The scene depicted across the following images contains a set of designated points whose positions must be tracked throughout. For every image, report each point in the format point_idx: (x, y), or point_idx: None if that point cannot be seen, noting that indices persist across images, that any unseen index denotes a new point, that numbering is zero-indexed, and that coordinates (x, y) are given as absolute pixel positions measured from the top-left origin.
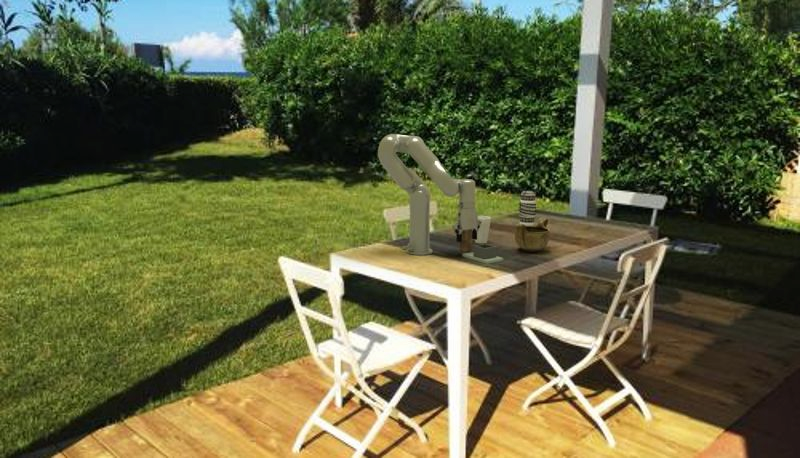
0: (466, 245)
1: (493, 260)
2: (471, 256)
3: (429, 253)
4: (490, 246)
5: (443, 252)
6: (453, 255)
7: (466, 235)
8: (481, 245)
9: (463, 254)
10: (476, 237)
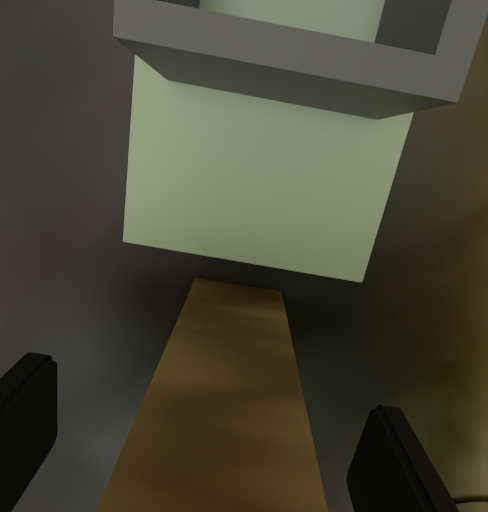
0: (275, 342)
1: None
2: (407, 123)
3: (484, 505)
4: None
5: (341, 467)
6: (378, 353)
7: (296, 482)
8: (272, 27)
9: (366, 265)
10: (23, 376)
